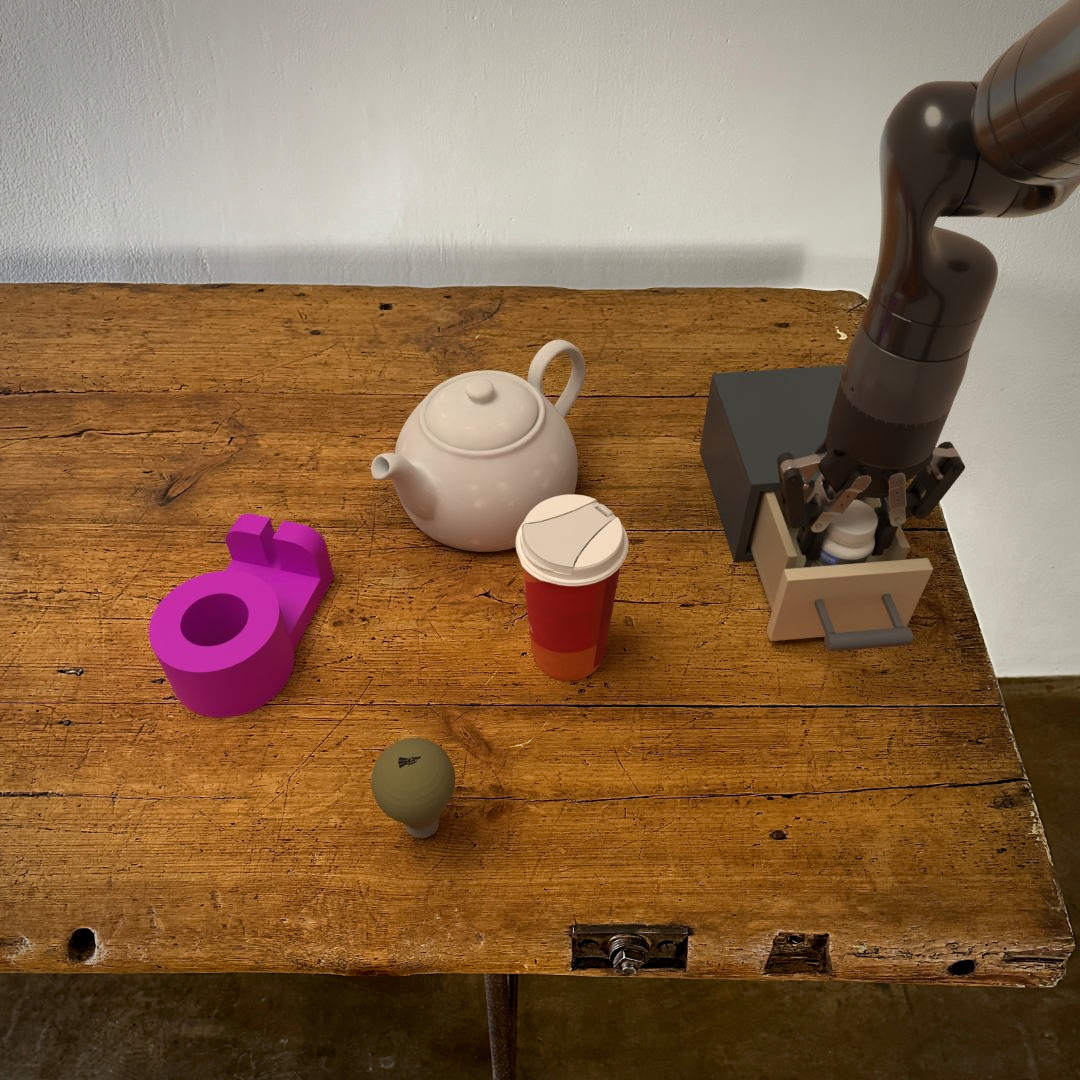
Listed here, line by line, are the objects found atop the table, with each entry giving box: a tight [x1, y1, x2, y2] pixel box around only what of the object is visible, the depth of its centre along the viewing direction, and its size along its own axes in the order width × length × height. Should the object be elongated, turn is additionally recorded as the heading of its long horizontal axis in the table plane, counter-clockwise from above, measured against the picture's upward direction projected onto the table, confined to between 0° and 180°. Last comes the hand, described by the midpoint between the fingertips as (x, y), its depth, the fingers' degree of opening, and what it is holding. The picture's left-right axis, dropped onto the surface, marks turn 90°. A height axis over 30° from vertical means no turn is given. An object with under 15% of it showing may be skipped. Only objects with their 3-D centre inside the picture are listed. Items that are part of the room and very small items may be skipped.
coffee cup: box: [515, 494, 629, 682], centre depth 75 cm, size 8×8×15 cm
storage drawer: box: [748, 487, 934, 653], centre depth 81 cm, size 18×12×8 cm, turn 6°
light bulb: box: [371, 737, 456, 839], centre depth 67 cm, size 6×6×10 cm
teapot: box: [370, 339, 587, 553], centre depth 88 cm, size 19×18×14 cm
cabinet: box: [699, 364, 844, 562], centre depth 89 cm, size 15×13×10 cm
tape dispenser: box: [148, 513, 335, 718], centre depth 80 cm, size 16×10×6 cm, turn 165°
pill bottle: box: [803, 500, 878, 568], centre depth 79 cm, size 5×5×8 cm
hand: (840, 549), depth 79 cm, fingers closed on pill bottle, 4 cm apart
